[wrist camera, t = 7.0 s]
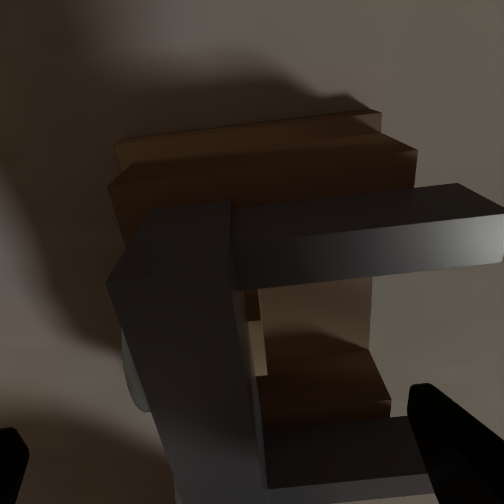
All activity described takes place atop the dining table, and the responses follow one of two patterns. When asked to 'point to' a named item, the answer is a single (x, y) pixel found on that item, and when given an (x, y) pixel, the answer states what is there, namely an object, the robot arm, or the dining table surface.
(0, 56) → the dining table surface
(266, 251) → the grey c-shaped bracket
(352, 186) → the display stand
